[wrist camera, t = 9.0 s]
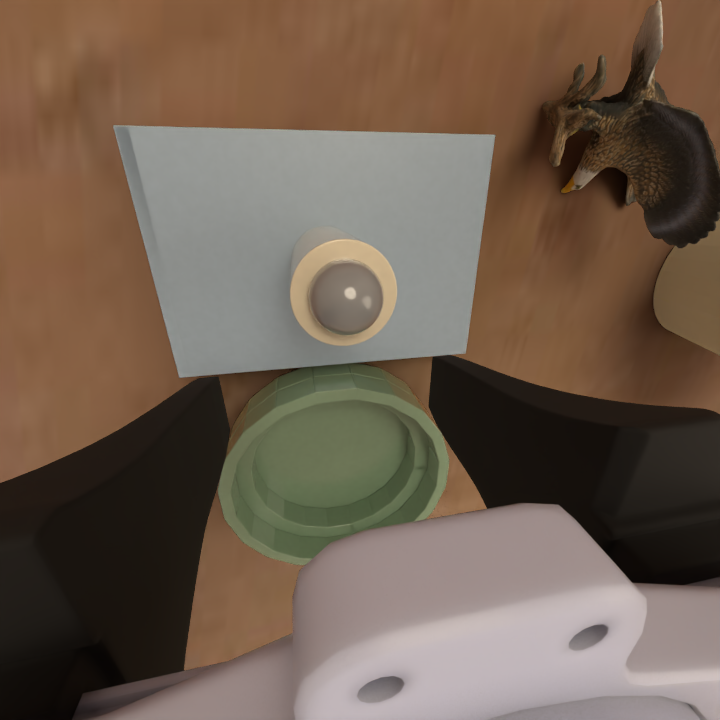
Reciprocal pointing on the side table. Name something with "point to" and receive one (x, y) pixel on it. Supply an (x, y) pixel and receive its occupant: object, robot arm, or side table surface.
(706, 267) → the reusable coffee cup
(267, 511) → the bowl
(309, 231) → the shaker
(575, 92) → the eagle figurine
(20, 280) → the side table surface
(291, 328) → the book
